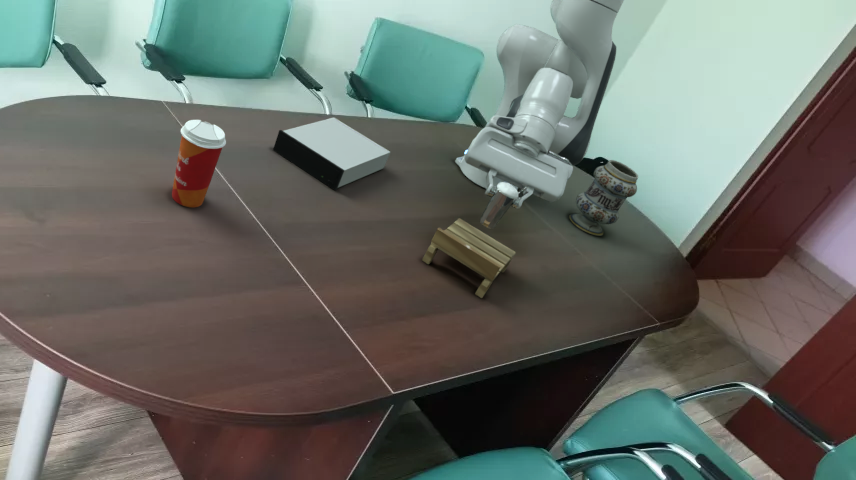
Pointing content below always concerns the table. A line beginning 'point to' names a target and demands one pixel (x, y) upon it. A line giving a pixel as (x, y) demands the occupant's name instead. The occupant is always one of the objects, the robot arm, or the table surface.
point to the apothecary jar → (604, 197)
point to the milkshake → (499, 204)
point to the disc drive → (331, 151)
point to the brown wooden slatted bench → (471, 251)
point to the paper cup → (196, 161)
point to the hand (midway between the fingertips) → (501, 200)
